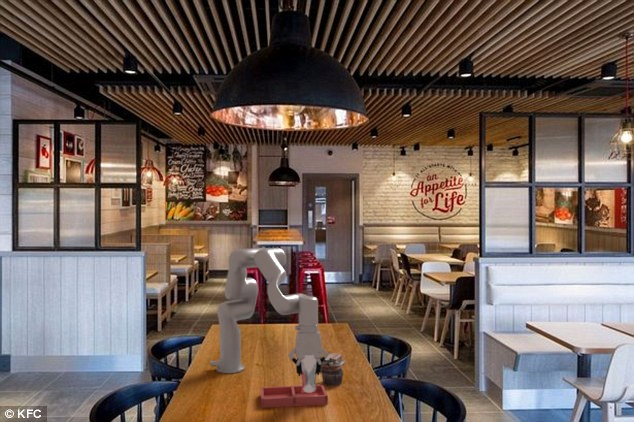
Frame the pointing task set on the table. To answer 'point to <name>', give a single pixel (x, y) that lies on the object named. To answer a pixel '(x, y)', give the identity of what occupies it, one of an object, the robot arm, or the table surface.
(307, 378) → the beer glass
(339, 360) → the packaged product
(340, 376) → the cupcake
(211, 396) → the table surface
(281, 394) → the tray
